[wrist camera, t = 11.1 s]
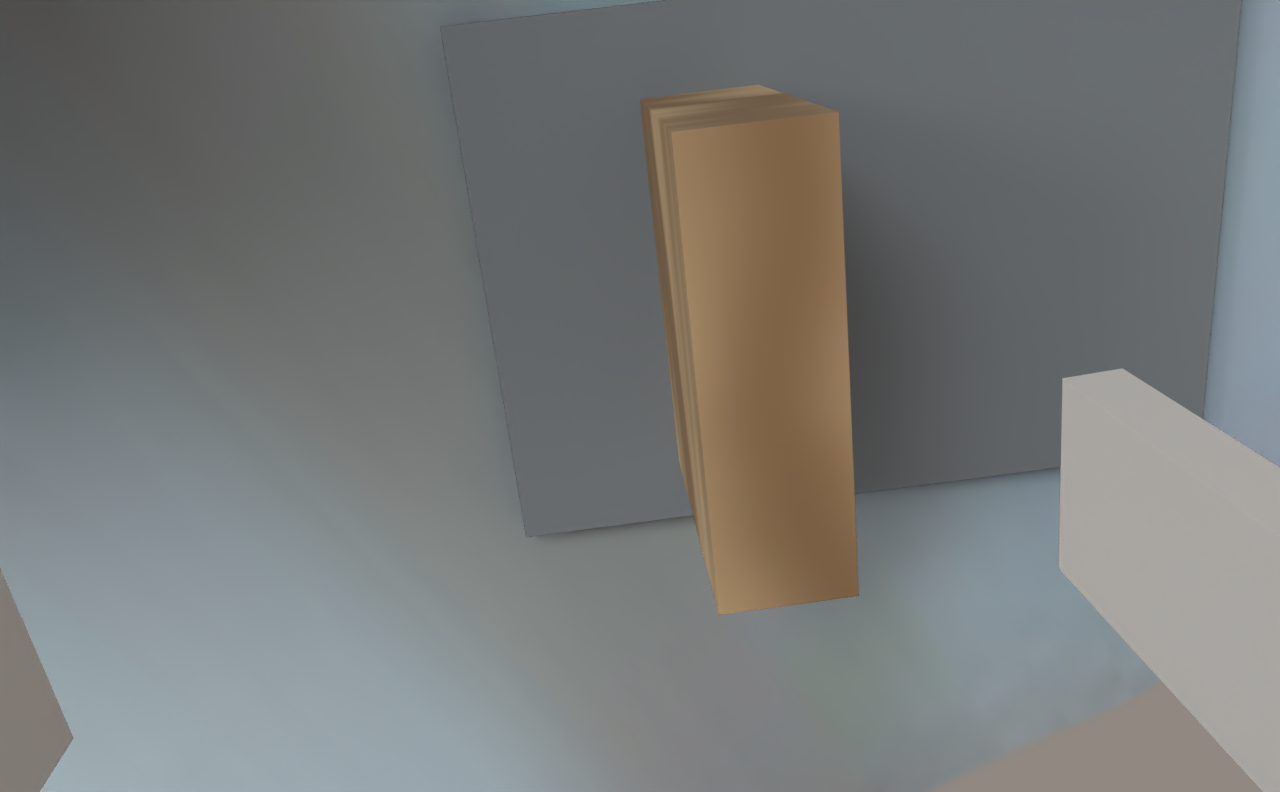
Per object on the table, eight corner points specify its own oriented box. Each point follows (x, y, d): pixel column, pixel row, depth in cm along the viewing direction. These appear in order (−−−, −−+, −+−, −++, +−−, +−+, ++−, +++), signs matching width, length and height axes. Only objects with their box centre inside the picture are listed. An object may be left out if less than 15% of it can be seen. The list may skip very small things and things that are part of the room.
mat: (526, 524, 30) (526, 537, 29) (443, 26, 25) (440, 27, 25) (1184, 438, 31) (1199, 448, 30) (1228, -66, 26) (1247, -69, 25)
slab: (679, 461, 29) (718, 614, 22) (640, 98, 25) (671, 131, 18) (783, 447, 29) (858, 595, 22) (758, 84, 26) (838, 111, 18)
